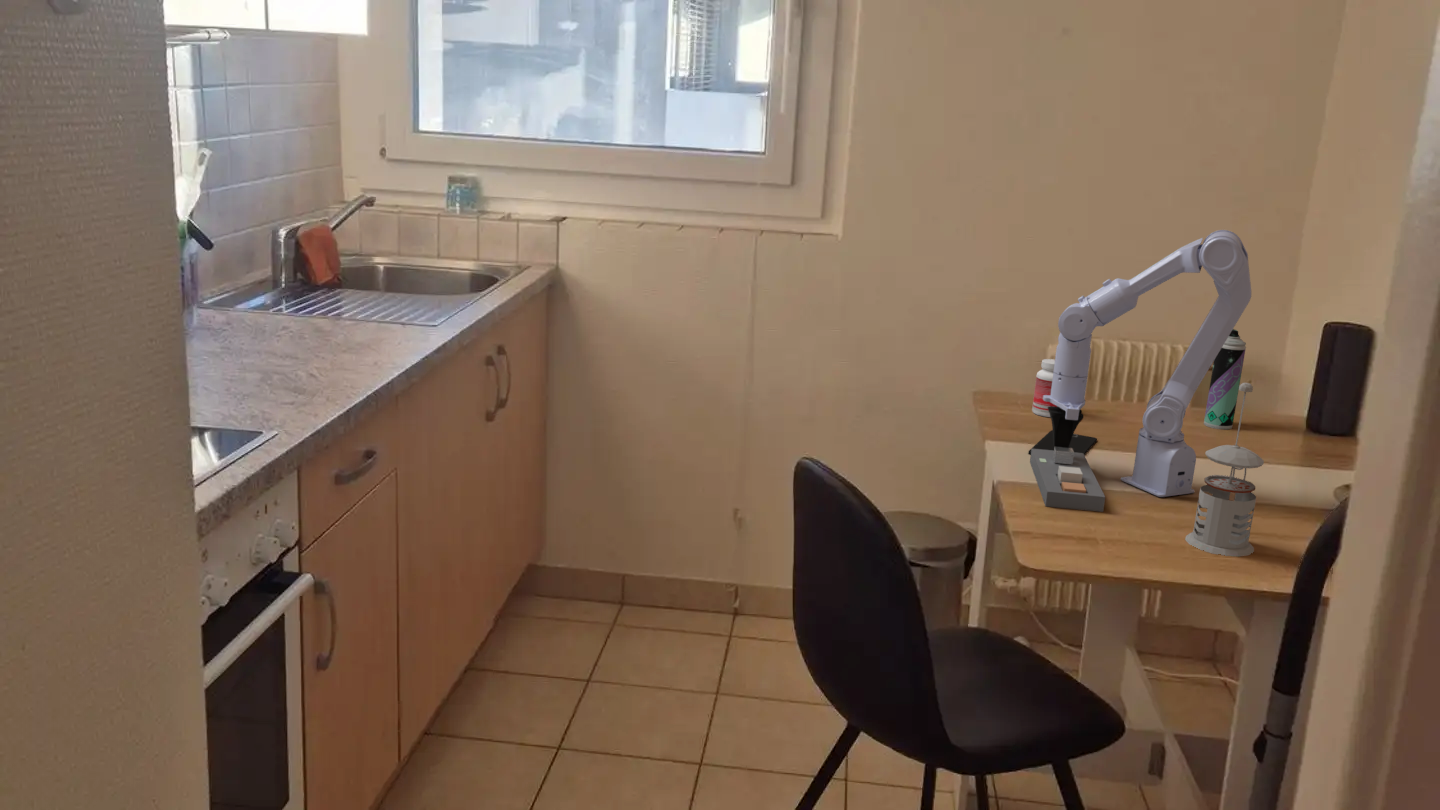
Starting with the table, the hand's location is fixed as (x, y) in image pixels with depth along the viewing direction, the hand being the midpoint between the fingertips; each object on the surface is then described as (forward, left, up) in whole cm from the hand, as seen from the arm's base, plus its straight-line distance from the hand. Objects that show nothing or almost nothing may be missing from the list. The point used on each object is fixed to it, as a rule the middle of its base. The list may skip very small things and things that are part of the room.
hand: (1060, 449), depth 218 cm
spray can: (+14, -54, -4) cm, 56 cm away
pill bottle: (+31, -24, -4) cm, 39 cm away
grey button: (-11, +7, -2) cm, 13 cm away
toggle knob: (-3, +2, -1) cm, 4 cm away
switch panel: (-7, +5, -4) cm, 9 cm away
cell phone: (+11, -11, -4) cm, 16 cm away
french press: (-36, -1, -4) cm, 36 cm away
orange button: (-15, +10, -3) cm, 18 cm away
